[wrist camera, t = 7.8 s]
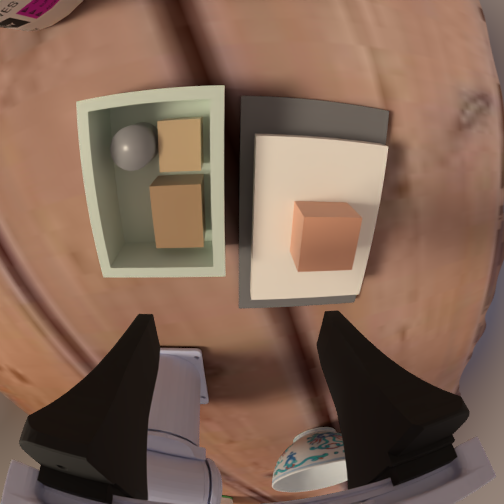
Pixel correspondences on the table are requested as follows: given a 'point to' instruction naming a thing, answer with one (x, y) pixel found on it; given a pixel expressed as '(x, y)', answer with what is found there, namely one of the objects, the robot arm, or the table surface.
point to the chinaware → (311, 462)
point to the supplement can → (34, 13)
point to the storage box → (156, 180)
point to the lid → (313, 214)
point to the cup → (226, 500)
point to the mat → (293, 123)
